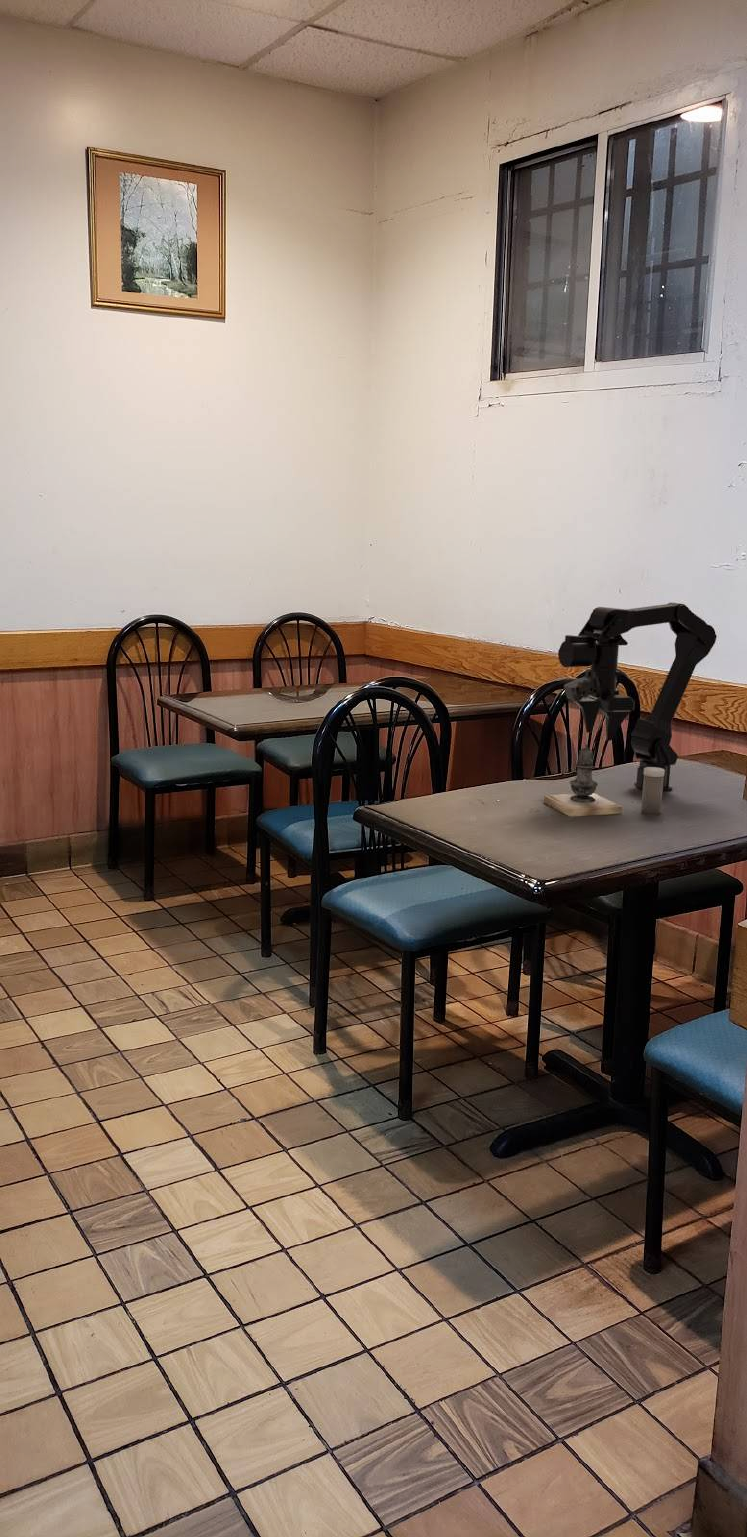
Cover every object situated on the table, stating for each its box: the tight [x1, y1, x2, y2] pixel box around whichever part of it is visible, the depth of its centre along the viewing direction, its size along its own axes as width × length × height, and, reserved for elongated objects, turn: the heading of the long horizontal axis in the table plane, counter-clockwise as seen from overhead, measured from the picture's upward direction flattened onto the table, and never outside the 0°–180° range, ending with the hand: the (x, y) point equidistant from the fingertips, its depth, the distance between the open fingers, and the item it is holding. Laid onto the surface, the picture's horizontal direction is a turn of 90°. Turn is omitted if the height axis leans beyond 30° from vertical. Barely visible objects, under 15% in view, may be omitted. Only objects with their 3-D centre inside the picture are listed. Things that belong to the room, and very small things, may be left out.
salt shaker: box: [569, 743, 599, 803], centre depth 249 cm, size 6×6×12 cm
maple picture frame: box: [543, 792, 623, 817], centre depth 251 cm, size 12×12×2 cm
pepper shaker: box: [640, 767, 665, 815], centre depth 248 cm, size 4×4×9 cm
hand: (598, 736), depth 261 cm, fingers open, 9 cm apart
